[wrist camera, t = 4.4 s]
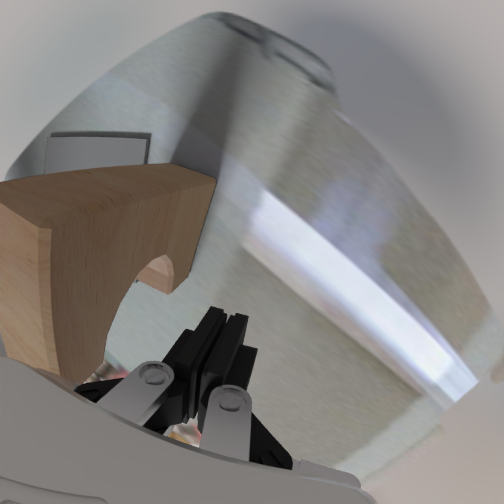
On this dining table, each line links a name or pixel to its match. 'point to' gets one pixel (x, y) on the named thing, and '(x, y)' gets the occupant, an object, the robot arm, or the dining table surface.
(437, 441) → the dining table surface
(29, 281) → the decorative block
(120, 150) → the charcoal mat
